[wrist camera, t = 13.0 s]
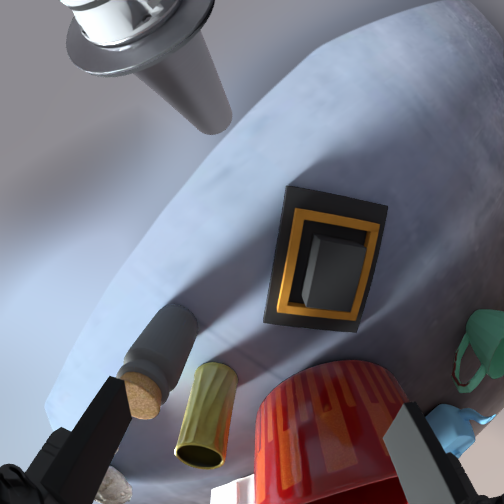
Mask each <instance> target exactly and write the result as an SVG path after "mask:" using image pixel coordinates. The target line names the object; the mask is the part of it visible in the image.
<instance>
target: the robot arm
mask: <svg viewBox="0 0 504 504" xmlns="http://www.w3.org/2000/svg"><path fill="white" fill-rule="evenodd" d="M60 1H61V2H62V3H64V4H65V5H66V6H68V7H69V8H70V9H72V10H73V13H74V15H75V18H76V20H77V22H78V23H79V25H80V30H81V32H82V34H83V36H84V37H85V38H86V39H87V40H88V41H90V42H91V43H92V44H94V45H95V46H97V47H101V48H118V47H123V46H126V45H129V44H132V43H135V42H137V41H139V40H141V39H143V38H145V37H147V36H149V35H150V34H152V33H153V32H155V31H156V30H158V29H159V28H160V27H162V26H163V25H164V24H165V23H166V22H167V21H168V20H170V18H171V17H172V16H173V15H174V14H175V13H176V12H177V10H178V9H179V7H180V5H181V4H182V1H183V0H60ZM131 420H132V416H131V412H130V407H129V403H128V398H127V392H126V387H125V381H124V380H122V379H118V378H115V377H112V376H109V378H108V379H107V380H106V382H105V383H104V385H103V386H102V388H101V389H100V390H99V392H98V393H97V395H96V396H95V398H94V399H93V401H92V402H91V403H90V405H89V406H88V408H87V409H86V411H85V412H84V414H83V415H82V417H81V418H80V420H79V421H78V423H77V424H76V426H75V427H74V429H73V430H72V432H71V431H69V430H66V429H64V428H62V427H61V428H59V429H57V430H56V431H54V432H53V433H52V434H51V435H50V437H49V438H48V439H47V441H46V443H45V444H44V445H43V447H42V449H41V450H40V451H39V453H38V454H37V456H36V457H35V458H34V460H33V462H32V463H31V465H30V466H29V468H28V469H27V471H26V472H25V473H24V472H23V471H22V470H21V468H20V467H18V466H16V465H14V464H5V465H3V466H1V467H0V504H92V503H93V501H94V499H95V496H96V494H97V492H98V490H99V488H100V485H101V483H102V481H103V479H104V477H105V474H106V472H107V470H108V468H109V466H110V464H111V461H112V459H113V457H114V455H115V453H116V451H117V449H118V447H119V445H120V442H121V440H122V438H123V436H124V434H125V432H126V430H127V428H128V426H129V424H130V422H131ZM383 440H384V442H385V445H386V447H387V450H388V452H389V455H390V457H391V460H392V462H393V465H394V467H395V470H396V472H397V475H398V477H399V480H400V483H401V485H402V488H403V491H404V493H405V496H406V499H407V501H408V504H504V494H502V495H501V496H498V497H493V498H488V497H487V496H485V495H478V494H477V493H476V491H475V489H474V487H473V485H472V483H471V481H470V480H469V478H468V476H467V474H466V473H465V470H464V469H463V467H461V463H460V462H459V460H458V458H457V457H456V456H455V455H454V454H452V453H451V452H448V453H445V451H444V449H443V447H442V445H441V444H440V442H439V440H438V438H437V437H436V435H435V433H434V432H433V430H432V428H431V426H430V425H429V423H428V421H427V420H426V418H425V416H424V415H423V413H422V411H421V410H420V408H419V406H418V405H417V403H416V402H408V403H403V405H402V407H401V409H400V410H399V412H398V414H397V416H396V417H395V419H394V421H393V422H392V424H391V426H390V427H389V429H388V430H387V432H386V434H385V435H384V437H383Z"/></svg>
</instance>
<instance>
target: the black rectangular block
mask: <svg viewBox="0 0 504 504" xmlns="http://www.w3.org/2000/svg"><path fill="white" fill-rule="evenodd" d="M366 250H367V248H366V247H364V246H363V245H361V244H359V243H358V242H356V241H354V240H349V239H344V238H338V237H332V236H326V235H321V234H315V233H313V234H312V239H311V245H310V250H309V255H308V260H307V265H306V270H305V275H304V279H303V284H302V289H301V295H302V298H303V301H304V303H305V306H306V307H309V308H317V309H326V310H335V311H344V312H351V309H352V305H353V302H354V298H355V295H356V291H357V287H358V283H359V279H360V275H361V271H362V267H363V263H364V259H365V254H366Z"/></svg>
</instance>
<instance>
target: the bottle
mask: <svg viewBox="0 0 504 504" xmlns="http://www.w3.org/2000/svg"><path fill="white" fill-rule="evenodd" d="M197 333H198V323H197V320H196V318H195V316H194V315H193V314H192V313H191V312H190V311H189V310H188V309H186V308H185V307H182V306H180V305H167V306H165V307H163V308H161V309H160V310H159V311H158V312H157V314H156V315H155V316H154V317H153V319H152V320H151V321H150V323H149V324H148V325H147V326H146V328H145V329H144V330H143V332H142V333H141V334H140V336H139V337H138V338H137V340H136V341H135V342H134V344H133V345H132V346H131V348H130V349H129V351H128V352H127V354H126V355H125V358H124V365H123V366H122V367H121V368H120V370H119V371H118V373H117V376H116V378H118V379H122V380H124V381H125V387H126V392H127V398H128V403H129V407H130V412H131V416H133V417H136V418H139V419H152V418H155V417H156V416H157V415H158V414H159V412H160V407H161V406H162V405H163V404H164V403H165V402H166V400H167V398H168V396H169V392H170V391H172V390H173V389H174V388H175V387H176V385H177V383H178V381H179V379H180V376H181V374H182V371H183V369H184V366H185V364H186V361H187V359H188V356H189V354H190V351H191V349H192V347H193V344H194V341H195V339H196V336H197Z"/></svg>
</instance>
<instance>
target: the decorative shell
mask: <svg viewBox="0 0 504 504" xmlns="http://www.w3.org/2000/svg"><path fill="white" fill-rule="evenodd" d="M131 496H132V487H131V486H130V484H129V483H128V482H127V480H126V479H125V478H124V476H123V474H122V473H120V472H119V471H117V470H116V469H115V468H114V467H112V466H109V468H108V470H107V472H106V474H105V477H104V479H103V481H102V483H101V485H100V488H99V490H98V492H97V494H96V496H95V499H94V500H95V501H97V502H100V503H102V504H123V503H125V502H127V501H130V498H131Z"/></svg>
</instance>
